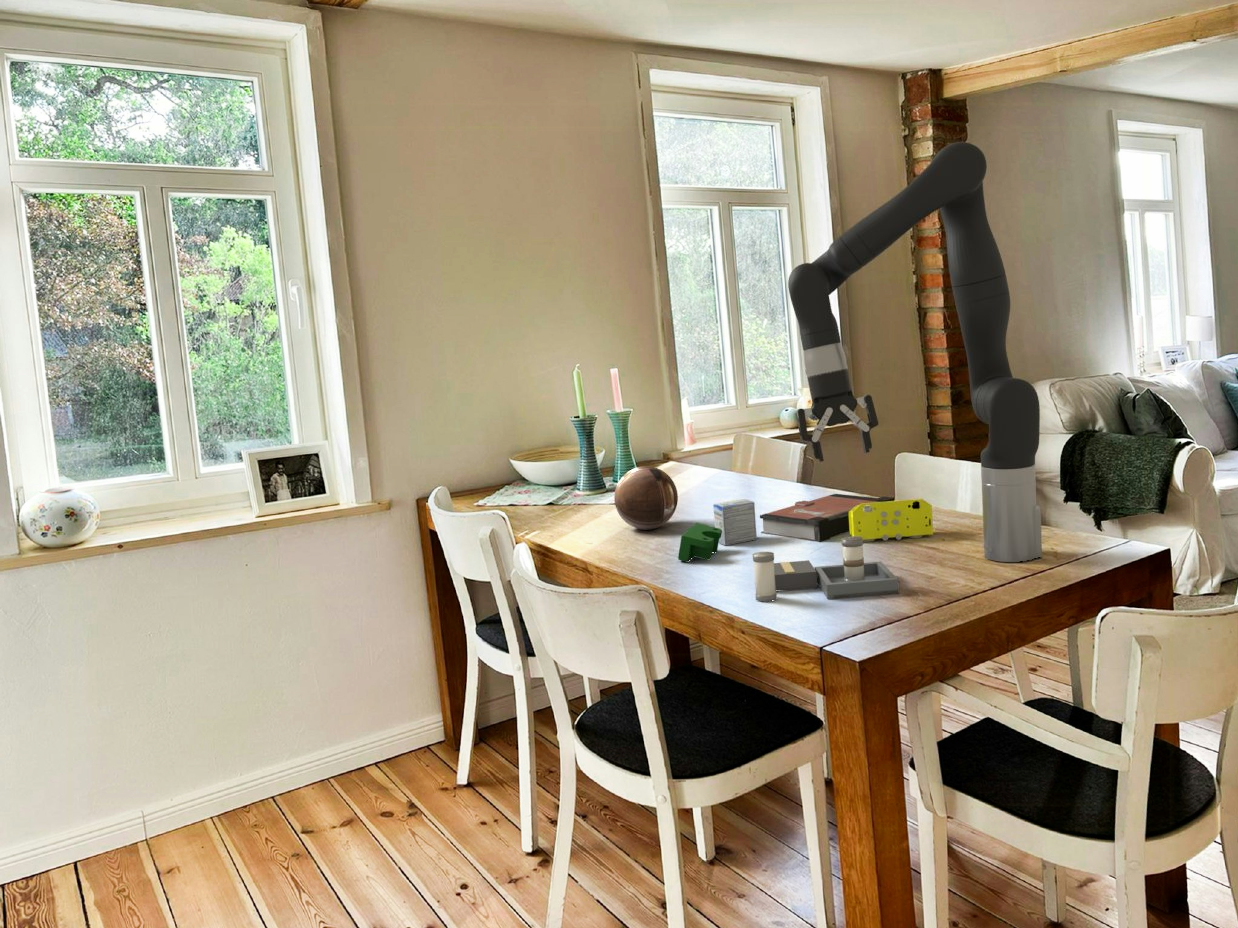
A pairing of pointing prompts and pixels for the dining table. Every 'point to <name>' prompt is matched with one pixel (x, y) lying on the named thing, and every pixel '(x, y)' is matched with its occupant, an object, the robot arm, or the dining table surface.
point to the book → (815, 517)
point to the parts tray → (875, 581)
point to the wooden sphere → (646, 497)
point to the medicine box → (735, 521)
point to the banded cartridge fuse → (853, 558)
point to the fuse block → (795, 575)
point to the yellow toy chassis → (891, 519)
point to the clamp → (699, 542)
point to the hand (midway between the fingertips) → (844, 456)
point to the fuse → (764, 576)
